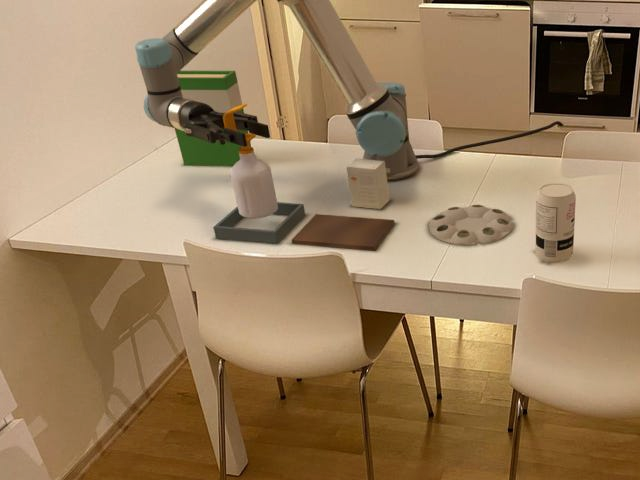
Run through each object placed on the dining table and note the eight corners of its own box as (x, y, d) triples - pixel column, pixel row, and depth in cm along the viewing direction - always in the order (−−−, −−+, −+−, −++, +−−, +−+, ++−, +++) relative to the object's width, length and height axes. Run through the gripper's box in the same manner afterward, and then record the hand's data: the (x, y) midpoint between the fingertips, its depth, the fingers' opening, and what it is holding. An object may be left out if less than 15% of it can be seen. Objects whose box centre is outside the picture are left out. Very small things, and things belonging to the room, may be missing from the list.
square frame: (305, 215, 184) (303, 203, 182) (277, 244, 172) (275, 232, 170) (247, 210, 187) (245, 199, 186) (216, 238, 175) (212, 227, 173)
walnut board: (394, 223, 179) (394, 219, 178) (375, 250, 168) (374, 246, 167) (316, 217, 183) (315, 213, 182) (292, 243, 172) (291, 239, 171)
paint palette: (456, 253, 166) (456, 245, 165) (414, 222, 179) (413, 214, 178) (529, 230, 174) (529, 222, 173) (483, 201, 188) (483, 194, 186)
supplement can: (532, 247, 167) (533, 183, 158) (569, 245, 167) (572, 181, 159) (537, 265, 160) (539, 199, 152) (576, 262, 161) (579, 196, 152)
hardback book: (184, 165, 214) (161, 78, 200) (195, 155, 220) (173, 70, 206) (243, 166, 212) (224, 78, 198) (253, 156, 218) (235, 70, 204)
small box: (390, 200, 190) (385, 160, 184) (380, 210, 185) (375, 169, 179) (361, 197, 192) (356, 157, 186) (351, 206, 188) (345, 165, 181)
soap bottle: (268, 220, 173) (246, 112, 159) (232, 217, 174) (207, 111, 160) (284, 204, 180) (265, 100, 166) (249, 202, 182) (227, 98, 168)
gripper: (229, 122, 183) (292, 140, 171) (162, 144, 172) (224, 165, 160) (222, 90, 179) (286, 107, 167) (153, 112, 167) (216, 131, 155)
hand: (256, 135), depth 163 cm, fingers closed on soap bottle, 6 cm apart
